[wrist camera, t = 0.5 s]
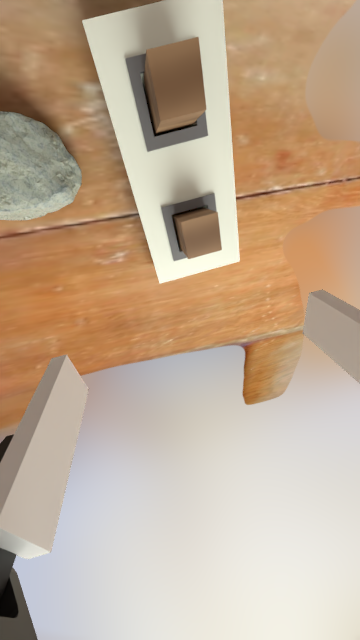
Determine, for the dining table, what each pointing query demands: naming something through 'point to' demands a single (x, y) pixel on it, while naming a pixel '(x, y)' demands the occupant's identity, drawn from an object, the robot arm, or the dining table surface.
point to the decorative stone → (33, 169)
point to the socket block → (176, 147)
